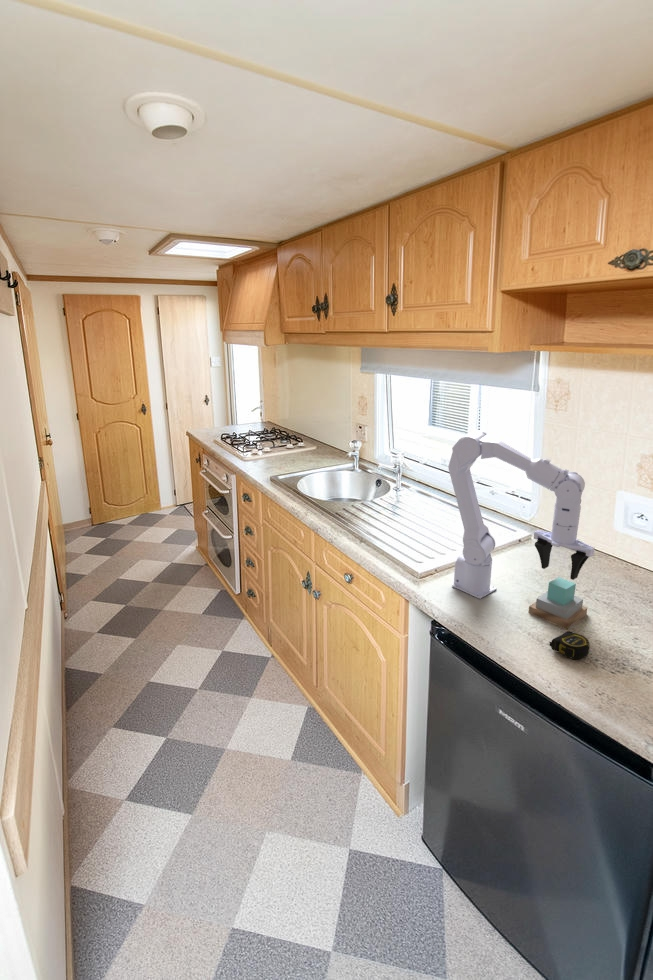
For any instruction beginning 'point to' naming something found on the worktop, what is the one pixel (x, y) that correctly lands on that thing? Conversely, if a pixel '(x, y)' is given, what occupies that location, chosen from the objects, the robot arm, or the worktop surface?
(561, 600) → the teal cube
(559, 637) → the tape measure
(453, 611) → the worktop surface
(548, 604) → the tower top block
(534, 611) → the tower base block
